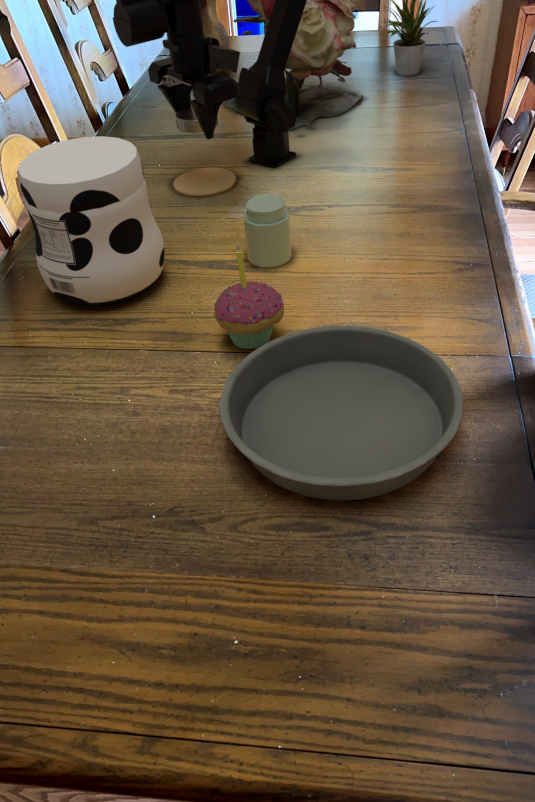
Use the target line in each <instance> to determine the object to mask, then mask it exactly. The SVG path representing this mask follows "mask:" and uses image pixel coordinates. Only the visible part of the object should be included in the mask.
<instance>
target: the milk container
mask: <svg viewBox="0 0 535 802" xmlns="http://www.w3.org/2000/svg"><path fill="white" fill-rule="evenodd" d="M142 162H143V161H142V159H141V156H140V152H139V150H138V148H137V147H136V146H135V145H134V144H133V143H132V142H131V141H129V140H126V139H123V138H120V137H112V136H103V135H102V136H100V135H99V136H84V137H83V136H82V137H78V138H77V137H75V138H71V139H64V140H61V141H58V142H54V143H51V144H48V145H45V146H42V147H41V148H39V149H36V150H35V151H33V152H30V153H29V154H28V155H26V157H25V158H23V159H22V160H21V161H20V162H19V165H18V167H17V175H18V176H17V177H18V182H19V185H20V190H21V192H22V195H23V197H24V204H25V207H26V210H27V213H28V216H29V219H30V222H31V225H32V228H33V232H34V238H35V239H34V240H35V259H36V264H37V268H38V271H39V273H40V275H41V278H42V280H43V282H44V283H45V285H46V287H47V288H48V289H49V291H50V292H51V293H52V294H53V295H55V296H56V297H58V298H59V299H61V300H63V301H66V302H68V303H73V304H78V305H84V306H93V305H94V306H95V305H96V306H97V305H100V306H101V305H102V306H103V305H108V304H112V303H117V302H122V301H126V300H127V299H130V298H132V297H134V296H137V295H139V294H141V293H142V292H144V291H146V290H147V289H148V288H149V287H151V286H152V285H154V284H155V282H156V281H157V280H158V279H159V277H160V276H161V274H162V272H163V270H164V266H165V255H166V254H165V253H166V251H165V242H164V239H163V236H162V232H161V230H160V227H159V225H158V223H157V222H156V219H155V218H154V216H153V213H152V210H151V206H150V202H149V196H148V195H149V194H148V189H147V188H148V187H147V183H146V178H145V177H144V176H145V175H144V168H143V163H142Z"/></svg>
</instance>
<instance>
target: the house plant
mask: <svg viewBox="0 0 535 802" xmlns="http://www.w3.org/2000/svg"><path fill="white" fill-rule="evenodd" d="M390 1H391V3H392V4H394V6H395V9H396V11H397V12H398V13H397V12H396V11H395V10H394V9H392V8H390V9H389V7H388V6H386V9H387V12H389V13H391V14H392V15H393V16H394V18H395V19H396V20H391V19H389V18H386V21H383V23H384V24H386V25H385V26H383V28H390V29H391V30H388V31H387V32H386V34H385V36H387V35H389V34H390V37H389V39H391V38H392V37H393V36H395V35H397V36H398V37H399V38H400V39H396V40H395V41H393V43H392V44H393V53H394V64H395V70H396V74H397V75H400V76H415V75H417V74H419V73H420V72H421V71H420V70H421V66H422V61H423V56H424V52H425V48H426V44H427V43H426V40H425V39H422V36H424V35H429V32H422V31H423V29H424V28H425V27H426V26H428V25H430V24H431V23H435V22H436V23H439V21H438V20H431V21H429V22H428V23H425V24H424V25H423V26H422V24H423V22H424V20H425V19H426V17H427V16H428V15H429V14H430V12H431V11H432V10H433V9H434V6H432V7H428V8H427V9H425V8H426V4H427V0H420V1H419V3H418V4H419V5H418V9H417V11H416V13H415V7H416V3H417V0H410V5H409V6H408V5H407V2H406V0H401V1H402V8H401V7H400V5H398V4H397V3H396V1H395V0H390ZM377 7H380V8H385V6H384V5H378V6H377ZM415 14H416V15H415ZM399 19H400V20H399ZM389 26H390V27H389ZM391 26H392V27H393V28H392V27H391ZM404 30H405V31H404Z"/></svg>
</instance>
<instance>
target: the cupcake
mask: <svg viewBox="0 0 535 802" xmlns="http://www.w3.org/2000/svg"><path fill="white" fill-rule="evenodd" d="M239 247H240V246H239V244H236V252H235V254H236V255H235V256H236V261H237V269H238V274H239V279H240V282H237V283H235V284H233V285H231V286H228V287H227V288H226V289H224V290H222V292H221V293H220V294H219V296H218V297H217V298H216V301H215V303H214V311H213V312H214V313H213V315H214V319H215V320H216V322H217V324H218V325H219V327H220V328H221V329H223V330H225V331H226V332H227V333H228V335H229V338H230V339H231V341H232V343H233V344H234V345H235V347H238V348H240V349H243V350H254V349H255V350H256V349H258V348H259V347H261V346H263V345H265V344H266V343H268V342H270V341H271V340H270V339H271V335H272V332H273V328H274V327H275V324H278V323H280V322H281V321H282V319H283V317H284V315H285V314H284V313H285V305H284V299H283V296H282V293H279V292H278V291H277V290H276V289H275V288H274V287H273V286H272V285H268V284H267V283H265V282H264V283H263V282H259V281H247V278H246V271H245V264H244V260H243V259H244V258H243V253H242V250H240V248H239Z"/></svg>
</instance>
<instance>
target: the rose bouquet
mask: <svg viewBox="0 0 535 802" xmlns="http://www.w3.org/2000/svg"><path fill="white" fill-rule="evenodd" d="M246 2H247V3H248V4H249V6H250V7H251V9H252V11H254V12H255V13H256V14H257V16H251V15H246V16H242V17H238V18H235V19H233V20H232V22H233V23H239V22H241V23H250V24H262V23H263V24H265V25H263V29H264V30H265V29H267V26H268V23H269V20H270V16H271V13H272V10H273V7H274V3H275V0H246ZM355 8H356V5H355V4H354V3H353V2H352V1H351V0H307V2H306V5H305V8H304V11H303V14H302V17H301V20H300V24H299V27H298V30H297V33H296V36H295V39H294V42H293V45H292V49H291V52H290V55H289V58H288V61H287V64H286V67H285V82H286V96H285V101H284V104H285V105H286V106H287V107H289V108H290V109H291V110H292V111H293V112H294V113H295V114H297V118H296V123H295V127H294V128H291V129H290V130H292V129H297V128H299V127H301V126H302V127H303V126H307V127H308V128H312V127H311V126H310V125H311V123H312V122H313V121H314V120H316V119H317V118H324V117H328V118H329V117H336V116H338V115H342V113H345V112H347V111H349V110H350V109H351V108H352V107H353V106H354V105H355V104H356V103H357V102H359V101H360V100H361V99H364V95H358V94H357V93H354V92H344V91H336V90H329V89H327V88H326V87H324V86H323V81H322V77H324V76H327V75H329V74H332V75H333V76H336V77H337V79H336V80H337V81H338V82H340V83H347V80H346V79H345V78H344V77H349V76H350V75H351V74H352V73H353V72H352V67H350V66H348V65H345V64H347V61H341V60H340V59H339V58H341V57H342V56H343V55H344V52H345V51H347V50H350V49H357V44H356V41H355V40H354V38H353V37H354V36H353V34H352V33H351V32H352V31H353V30H354V29H355V19H356V15H355V14H354V13H353V10H355ZM241 33H242V35H243V36H251V35H253V33H252V30H245V31H243V32H241ZM206 35H207V34H206ZM253 65H254V64H252V65H250V66H249V67H248V69H250V68H251V67H252V66H253ZM288 70H289V71H288ZM310 76H312V77H317V78H318V79H319V84H317V86H316V85H312V86H303V85H304V84H305V80H306V79H307V78H309V77H310ZM225 107H227V108H229V109H230V110H232V111H234V112H236V113H237V114H241V113H240V111H239V110H238V108H237V105H236V104H235V98H233V99H230V100H227V101H225Z"/></svg>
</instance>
